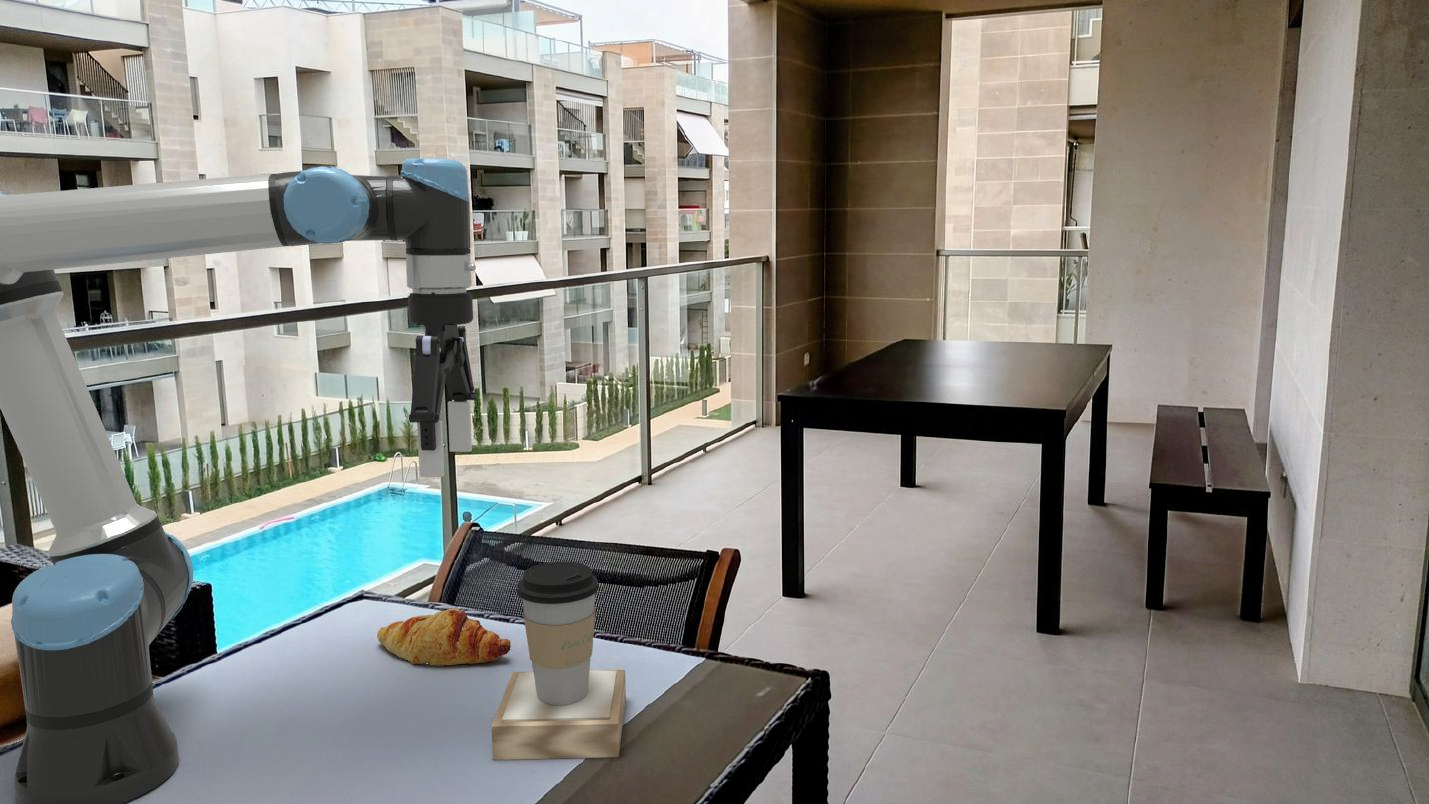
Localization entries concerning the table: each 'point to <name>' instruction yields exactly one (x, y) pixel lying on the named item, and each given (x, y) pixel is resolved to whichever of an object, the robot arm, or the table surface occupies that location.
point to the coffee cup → (559, 628)
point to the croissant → (443, 639)
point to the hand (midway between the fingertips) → (447, 463)
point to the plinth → (560, 720)
